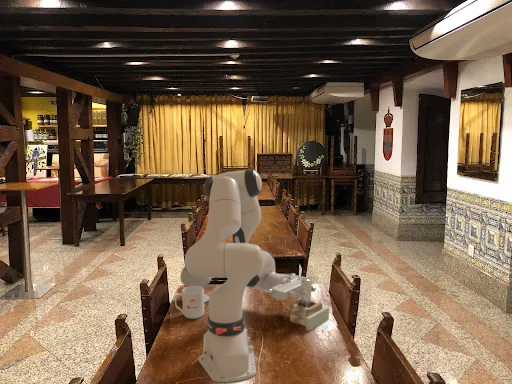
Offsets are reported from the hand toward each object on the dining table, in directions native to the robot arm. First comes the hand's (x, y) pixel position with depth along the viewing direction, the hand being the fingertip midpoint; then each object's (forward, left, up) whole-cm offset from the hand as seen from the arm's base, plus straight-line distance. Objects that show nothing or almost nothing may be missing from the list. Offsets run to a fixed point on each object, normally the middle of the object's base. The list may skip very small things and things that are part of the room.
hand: (308, 292), depth 173 cm
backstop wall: (-4, -2, -12) cm, 13 cm away
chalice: (+36, +40, -12) cm, 55 cm away
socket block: (+1, +1, -12) cm, 12 cm away
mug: (+19, +45, -12) cm, 50 cm away
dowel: (+1, +1, -9) cm, 9 cm away
